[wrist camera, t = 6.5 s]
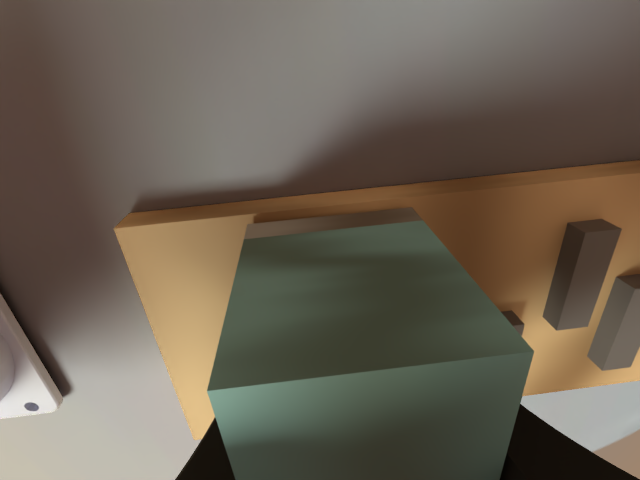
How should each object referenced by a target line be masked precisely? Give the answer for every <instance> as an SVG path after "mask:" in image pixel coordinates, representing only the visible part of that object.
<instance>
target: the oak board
mask: <svg viewBox="0 0 640 480" xmlns="http://www.w3.org/2000/svg"><path fill="white" fill-rule="evenodd" d="M408 207H412V208H413V209H414V210H415V211H416V213H417V214H418V215H419V216H420V217H421V218H422V220H423V221H424V222H425V223H426V224H427V226H428V227H429V228H430V229H431V230H432V231H433V233H434V234H435V235H436V236H437V237H438V238H439V240H440V241H441V242H442V243H443V244H444V246H445V247H446V248H447V249H448V250H449V251H450V253H451V254H452V255H453V256H454V257H455V259H456V260H457V261H458V262H459V263H460V264H461V266H462V267H463V268H464V269H465V270H466V271H467V273H468V274H469V275H470V276H471V277H472V279H473V280H474V281H475V282H476V283H477V284H478V286H479V287H480V288H481V289H482V290H483V292H484V293H485V294H486V295H487V296H488V297H489V299H490V300H491V301H492V302H493V303H494V304H495V306H496V307H497V308H498V309H499V310H500V312H502V311H511V310H512V311H513V312H514V313H515V314H516V315H517V316H518V317H519V319H520V320H521V321H522V322H523V323H524V324H525V325H524V330H523V334H522V338H523V339H524V340H525V341H526V342H527V343H528V345H529V346H530V347H531V348H532V349H533V350H534V354H533V358H532V361H531V365H530V369H529V373H528V376H527V380H526V384H525V387H524V391H523V395H522V396H527V395H534V394H542V393H549V392H557V391H564V390H572V389H579V388H586V387H594V386H601V385H609V384H616V383H624V382H631V381H639V380H640V347H639V350H638V352H637V354H636V356H635V358H634V361H633V363H632V365H631V367H628V368H621V369H613V370H606V371H602V370H601V369H600V368H599V367H598V366H597V365H596V364H594V363H593V362H592V361H591V360H590V359H589V358H588V357H587V355H588V352H589V349H590V346H591V344H592V341H593V338H594V336H595V333H596V330H597V327H598V325H599V322H600V319H601V316H602V314H603V311H604V308H605V305H606V303H607V300H608V297H609V294H610V292H611V289H612V286H613V283H614V281H615V278H616V277H618V276H626V275H634V274H640V160H635V161H626V162H616V163H606V164H597V165H587V166H578V167H568V168H558V169H549V170H539V171H529V172H520V173H510V174H501V175H491V176H481V177H472V178H462V179H453V180H443V181H433V182H424V183H414V184H405V185H395V186H385V187H376V188H366V189H356V190H347V191H337V192H328V193H318V194H308V195H299V196H289V197H280V198H270V199H260V200H251V201H241V202H232V203H222V204H212V205H203V206H193V207H184V208H174V209H164V210H155V211H145V212H135V213H129V214H128V215H127V216H126V217H125V218H124V219H123V220H122V221H121V222H120V223H119V224H118V225H117V226H116V227H115V228H114V231H115V234H116V236H117V239H118V242H119V244H120V247H121V249H122V252H123V255H124V257H125V260H126V263H127V265H128V268H129V270H130V273H131V276H132V278H133V281H134V284H135V286H136V289H137V291H138V294H139V297H140V299H141V302H142V305H143V307H144V310H145V312H146V315H147V318H148V320H149V323H150V325H151V328H152V331H153V333H154V336H155V339H156V341H157V344H158V346H159V349H160V352H161V354H162V357H163V360H164V362H165V365H166V367H167V370H168V373H169V375H170V378H171V381H172V383H173V386H174V388H175V391H176V394H177V396H178V399H179V402H180V404H181V407H182V409H183V412H184V415H185V417H186V420H187V422H188V425H189V428H190V430H191V433H192V436H193V438H194V440H198V439H202V438H203V437H204V435H205V433H206V432H207V430H208V428H209V426H210V425H211V423H212V421H213V420H214V418H215V415H214V411H213V408H212V405H211V402H210V399H209V396H208V393H207V389H208V385H209V380H210V376H211V372H212V368H213V364H214V360H215V356H216V352H217V347H218V343H219V339H220V335H221V331H222V327H223V323H224V319H225V314H226V310H227V306H228V302H229V298H230V294H231V290H232V286H233V281H234V277H235V273H236V269H237V265H238V261H239V257H240V253H241V249H242V244H243V240H244V236H245V232H246V228H247V224H254V223H264V222H273V221H283V220H293V219H302V218H312V217H322V216H331V215H341V214H351V213H360V212H370V211H379V210H389V209H399V208H408ZM595 219H603V220H605V221H607V222H609V223H611V224H613V225H615V226H617V227H619V228H621V229H622V230H621V233H620V236H619V239H618V242H617V245H616V248H615V250H614V253H613V256H612V259H611V262H610V265H609V268H608V270H607V273H606V276H605V279H604V282H603V285H602V288H601V291H600V293H599V296H598V299H597V302H596V305H595V308H594V311H593V314H592V316H591V319H590V322H589V325H588V327H582V328H574V329H566V330H558V331H556V330H555V329H554V328H553V327H552V326H551V325H550V324H549V323H548V322H547V321H546V320H545V319H544V318H543V317H542V316H543V312H544V309H545V305H546V301H547V297H548V294H549V290H550V286H551V282H552V279H553V275H554V271H555V268H556V264H557V260H558V256H559V253H560V249H561V245H562V241H563V238H564V234H565V230H566V226H567V223H568V222H577V221H586V220H595Z"/></svg>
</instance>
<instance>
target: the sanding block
mask: <svg viewBox="0 0 640 480" xmlns="http://www.w3.org/2000/svg"><path fill="white" fill-rule="evenodd" d="M533 354H534V350H533V349H532V348H531V347H530V346H529V345H528V343H527V342H526V341H525V340H524V339H523V338H522V336H521V335H520V334H519V333H518V332H517V330H516V329H515V328H514V327H513V326H512V325H511V323H510V322H509V321H508V320H507V319H506V317H505V316H504V315H503V314H502V313H501V312H500V310H499V309H498V308H497V307H496V306H495V304H494V303H493V302H492V301H491V300H490V299H489V297H488V296H487V295H486V294H485V293H484V292H483V290H482V289H481V288H480V287H479V286H478V284H477V283H476V282H475V281H474V280H473V279H472V277H471V276H470V275H469V274H468V273H467V271H466V270H465V269H464V268H463V267H462V266H461V264H460V263H459V262H458V261H457V260H456V259H455V257H454V256H453V255H452V254H451V253H450V251H449V250H448V249H447V248H446V247H445V246H444V244H443V243H442V242H441V241H440V240H439V238H438V237H437V236H436V235H435V234H434V233H433V231H432V230H431V229H430V228H429V227H428V226H427V224H426V223H425V222H424V221H423V220H422V218H421V217H420V216H419V215H418V214H417V213H416V211H415V210H414V209H413V208H412V207H408V208H399V209H389V210H379V211H370V212H360V213H351V214H341V215H331V216H322V217H312V218H302V219H293V220H283V221H273V222H264V223H254V224H247V228H246V232H245V236H244V240H243V244H242V249H241V253H240V257H239V261H238V265H237V269H236V273H235V277H234V281H233V286H232V290H231V294H230V298H229V302H228V306H227V310H226V314H225V319H224V323H223V327H222V331H221V335H220V339H219V343H218V347H217V352H216V356H215V360H214V364H213V368H212V372H211V376H210V380H209V385H208V389H207V393H208V396H209V399H210V402H211V405H212V408H213V411H214V415H215V418H216V421H217V424H218V427H219V430H220V433H221V436H222V439H223V442H224V445H225V449H226V452H227V455H228V458H229V461H230V464H231V467H232V470H233V473H234V476H235V480H500V476H501V472H502V469H503V465H504V461H505V457H506V454H507V450H508V446H509V443H510V439H511V435H512V432H513V428H514V424H515V421H516V417H517V413H518V409H519V406H520V402H521V398H522V395H523V391H524V387H525V384H526V380H527V376H528V373H529V369H530V365H531V361H532V358H533Z"/></svg>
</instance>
